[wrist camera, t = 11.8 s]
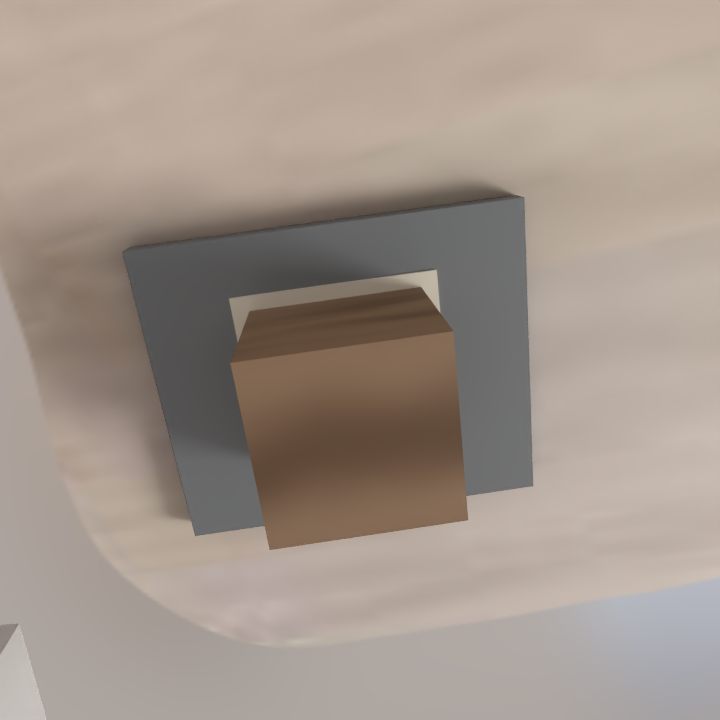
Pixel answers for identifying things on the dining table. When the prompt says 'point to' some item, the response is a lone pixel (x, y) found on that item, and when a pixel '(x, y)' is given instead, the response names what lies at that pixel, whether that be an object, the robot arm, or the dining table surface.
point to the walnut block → (351, 417)
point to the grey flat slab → (326, 282)
